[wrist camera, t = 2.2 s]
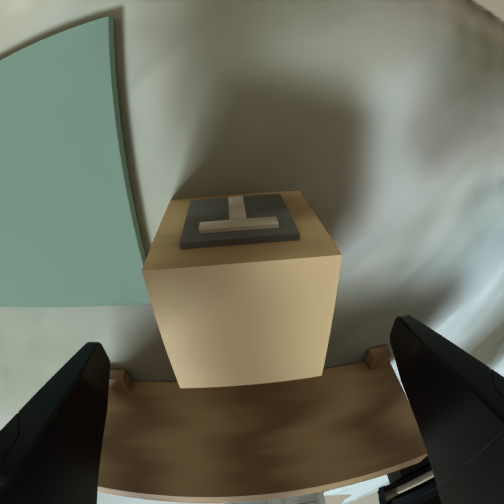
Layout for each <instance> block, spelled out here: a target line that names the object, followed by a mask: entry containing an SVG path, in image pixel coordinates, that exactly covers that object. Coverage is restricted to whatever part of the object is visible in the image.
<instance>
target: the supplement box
mask: <svg viewBox="0 0 504 504" xmlns="http://www.w3.org/2000/svg"><path fill="white" fill-rule="evenodd" d="M225 504H325V500H324V495H323V491H321V492H316V493H311V494H305V495H299V496H293V497H286V498H278V499H269V500H259V501H247V502H226V503H225Z"/></svg>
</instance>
